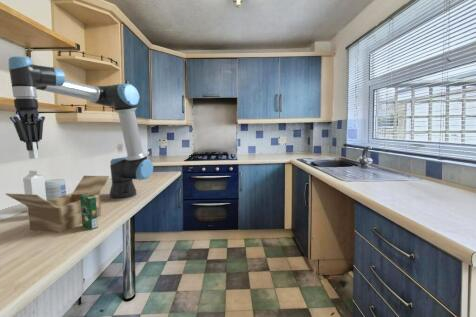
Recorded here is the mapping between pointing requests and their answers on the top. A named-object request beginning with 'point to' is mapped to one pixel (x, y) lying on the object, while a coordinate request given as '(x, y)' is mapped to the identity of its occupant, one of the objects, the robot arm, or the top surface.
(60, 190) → the supplement tub
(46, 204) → the flap
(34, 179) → the milk
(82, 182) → the flap
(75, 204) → the carton
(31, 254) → the top surface
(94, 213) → the coffee box
